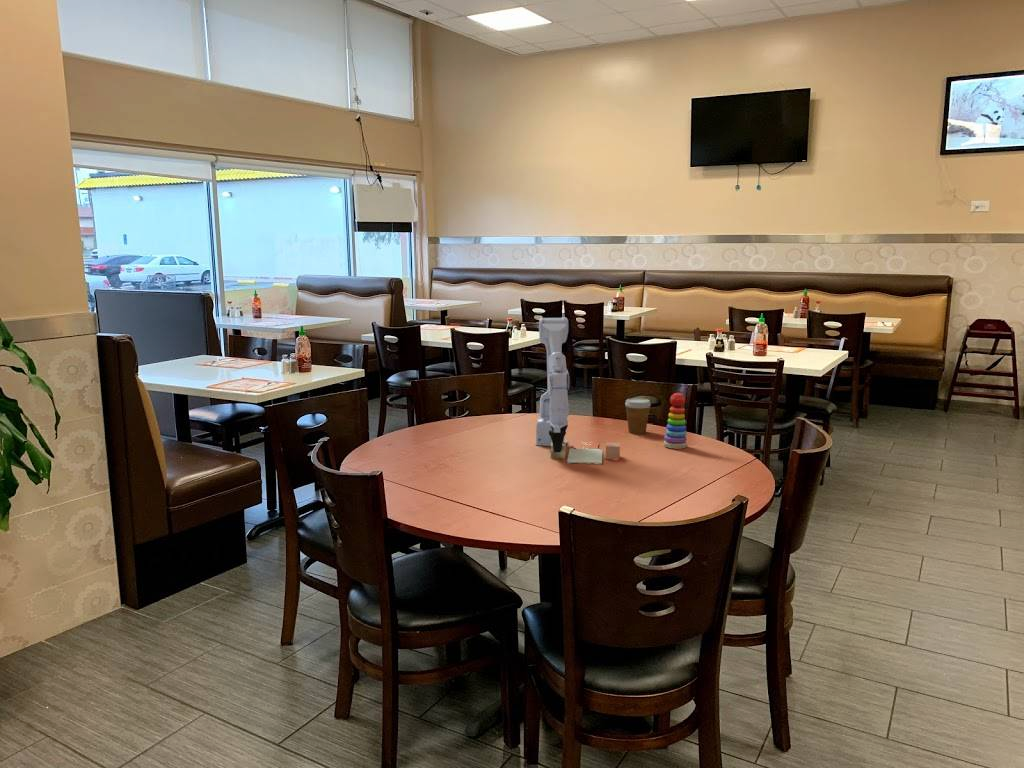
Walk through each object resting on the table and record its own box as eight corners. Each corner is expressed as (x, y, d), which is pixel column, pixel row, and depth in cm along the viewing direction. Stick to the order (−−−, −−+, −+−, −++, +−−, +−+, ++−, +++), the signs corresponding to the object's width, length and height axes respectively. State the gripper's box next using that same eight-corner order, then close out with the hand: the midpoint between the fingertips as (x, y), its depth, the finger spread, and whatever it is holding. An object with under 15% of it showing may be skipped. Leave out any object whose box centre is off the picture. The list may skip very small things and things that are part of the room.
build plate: (567, 463, 242) (567, 461, 242) (569, 450, 258) (569, 448, 258) (601, 464, 241) (602, 462, 241) (602, 451, 256) (602, 449, 256)
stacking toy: (687, 450, 257) (689, 395, 254) (663, 449, 259) (665, 395, 255) (687, 444, 265) (689, 391, 262) (663, 443, 266) (665, 390, 263)
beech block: (550, 458, 248) (550, 445, 247) (551, 454, 253) (551, 441, 252) (564, 458, 248) (564, 445, 247) (565, 455, 252) (565, 442, 251)
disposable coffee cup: (619, 430, 285) (619, 399, 283) (640, 428, 289) (641, 397, 287) (633, 436, 276) (634, 403, 274) (655, 433, 280) (656, 401, 278)
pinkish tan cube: (605, 459, 246) (605, 446, 246) (605, 456, 251) (605, 442, 250) (619, 460, 246) (619, 446, 245) (619, 456, 250) (619, 443, 250)
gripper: (547, 403, 255) (547, 443, 257) (544, 412, 241) (544, 454, 243) (569, 404, 254) (568, 443, 256) (566, 413, 240) (566, 455, 242)
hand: (558, 449), depth 250 cm, fingers open, 7 cm apart
